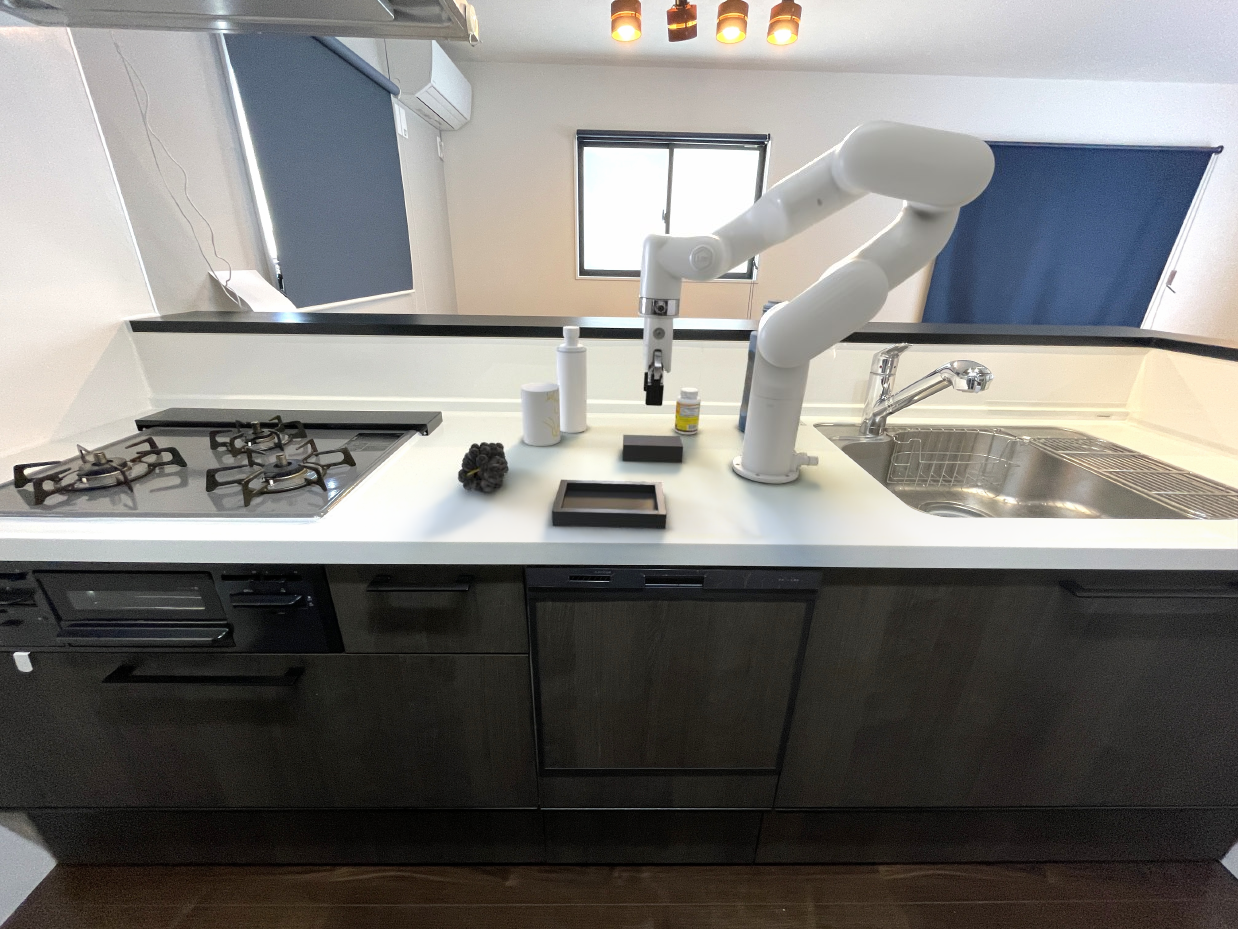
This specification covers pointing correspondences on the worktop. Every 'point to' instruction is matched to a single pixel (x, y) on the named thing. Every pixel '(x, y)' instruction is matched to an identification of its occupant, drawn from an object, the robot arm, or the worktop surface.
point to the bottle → (752, 368)
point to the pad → (652, 448)
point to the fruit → (483, 467)
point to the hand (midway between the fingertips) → (652, 398)
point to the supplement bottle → (687, 411)
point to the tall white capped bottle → (572, 382)
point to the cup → (541, 413)
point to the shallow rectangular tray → (609, 504)
